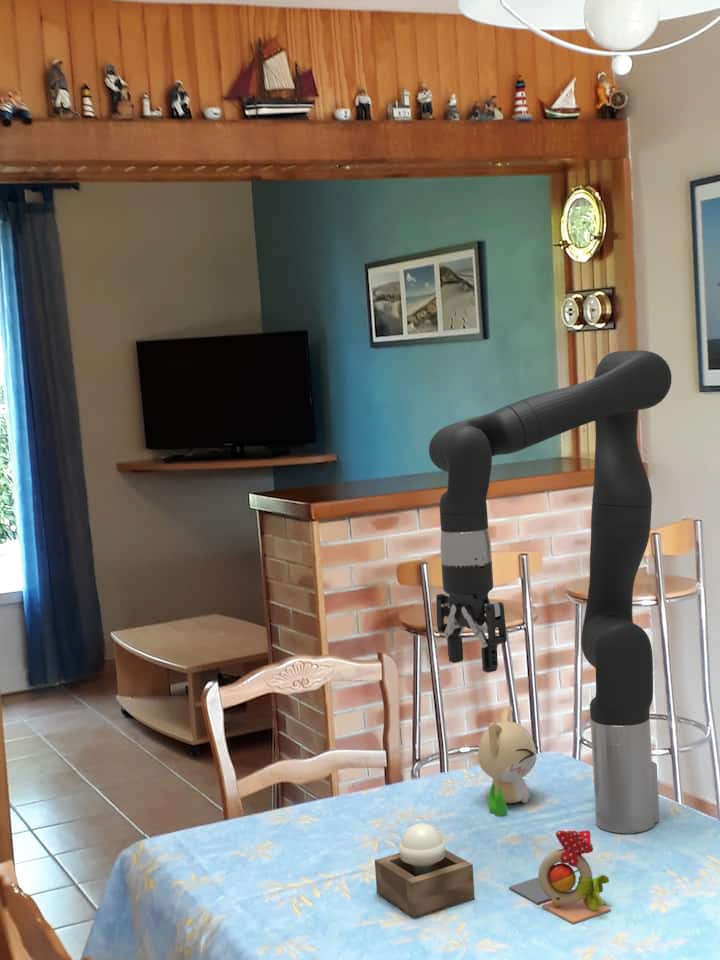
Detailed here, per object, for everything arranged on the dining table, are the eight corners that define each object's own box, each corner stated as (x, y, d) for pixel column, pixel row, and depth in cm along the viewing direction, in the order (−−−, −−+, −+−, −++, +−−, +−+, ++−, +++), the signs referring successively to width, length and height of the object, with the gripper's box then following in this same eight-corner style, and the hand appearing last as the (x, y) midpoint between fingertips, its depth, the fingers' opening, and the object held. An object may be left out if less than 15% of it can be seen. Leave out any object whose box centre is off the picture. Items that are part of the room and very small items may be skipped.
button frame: (435, 876, 175) (433, 842, 175) (474, 899, 167) (472, 864, 166) (376, 894, 170) (374, 860, 170) (414, 918, 162) (411, 883, 161)
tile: (579, 894, 166) (579, 892, 166) (610, 910, 160) (610, 908, 160) (542, 907, 163) (541, 905, 163) (572, 924, 157) (572, 922, 157)
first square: (545, 877, 172) (545, 875, 172) (574, 892, 167) (574, 890, 167) (508, 888, 169) (508, 886, 169) (537, 904, 164) (537, 902, 164)
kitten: (528, 819, 195) (523, 729, 194) (469, 815, 199) (464, 727, 198) (547, 788, 209) (543, 704, 208) (492, 785, 213) (487, 702, 212)
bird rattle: (559, 931, 159) (621, 905, 158) (521, 857, 159) (583, 830, 158) (558, 911, 165) (618, 885, 164) (522, 840, 165) (581, 813, 164)
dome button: (430, 862, 173) (427, 813, 172) (455, 876, 167) (452, 825, 167) (392, 873, 170) (389, 823, 169) (416, 888, 164) (413, 836, 163)
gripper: (418, 558, 182) (425, 663, 183) (474, 567, 170) (481, 679, 171) (458, 552, 186) (465, 654, 187) (516, 560, 173) (522, 670, 175)
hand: (472, 666), depth 179 cm, fingers open, 8 cm apart
